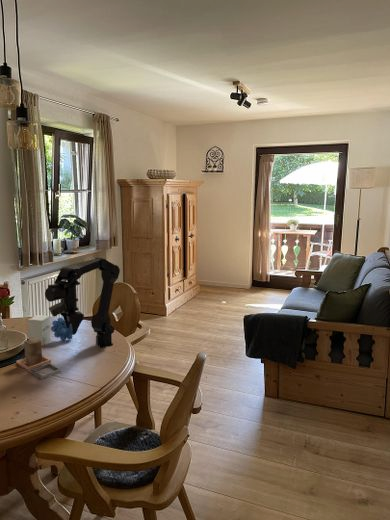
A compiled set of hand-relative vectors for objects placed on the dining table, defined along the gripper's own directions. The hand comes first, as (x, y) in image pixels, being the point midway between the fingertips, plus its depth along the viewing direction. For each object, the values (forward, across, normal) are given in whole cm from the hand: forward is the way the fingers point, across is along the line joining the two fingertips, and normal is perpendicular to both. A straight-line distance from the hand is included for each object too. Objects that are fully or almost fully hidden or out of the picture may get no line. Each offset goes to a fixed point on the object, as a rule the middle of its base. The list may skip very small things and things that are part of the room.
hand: (71, 331), depth 169 cm
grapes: (+13, -23, +3) cm, 27 cm away
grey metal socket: (+13, +6, -13) cm, 19 cm away
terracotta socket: (+13, -5, -15) cm, 21 cm away
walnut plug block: (+13, -5, -15) cm, 21 cm away
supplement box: (+13, -28, -7) cm, 32 cm away
